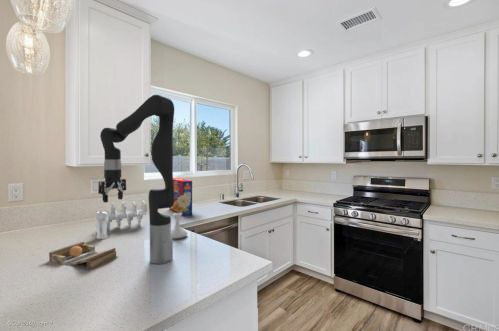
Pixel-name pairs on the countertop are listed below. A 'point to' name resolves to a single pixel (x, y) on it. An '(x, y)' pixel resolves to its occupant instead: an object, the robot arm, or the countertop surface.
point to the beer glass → (102, 224)
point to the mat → (81, 256)
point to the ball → (75, 251)
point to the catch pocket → (67, 252)
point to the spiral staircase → (127, 214)
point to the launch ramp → (98, 258)
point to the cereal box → (182, 189)
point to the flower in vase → (177, 230)
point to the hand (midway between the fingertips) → (113, 200)
